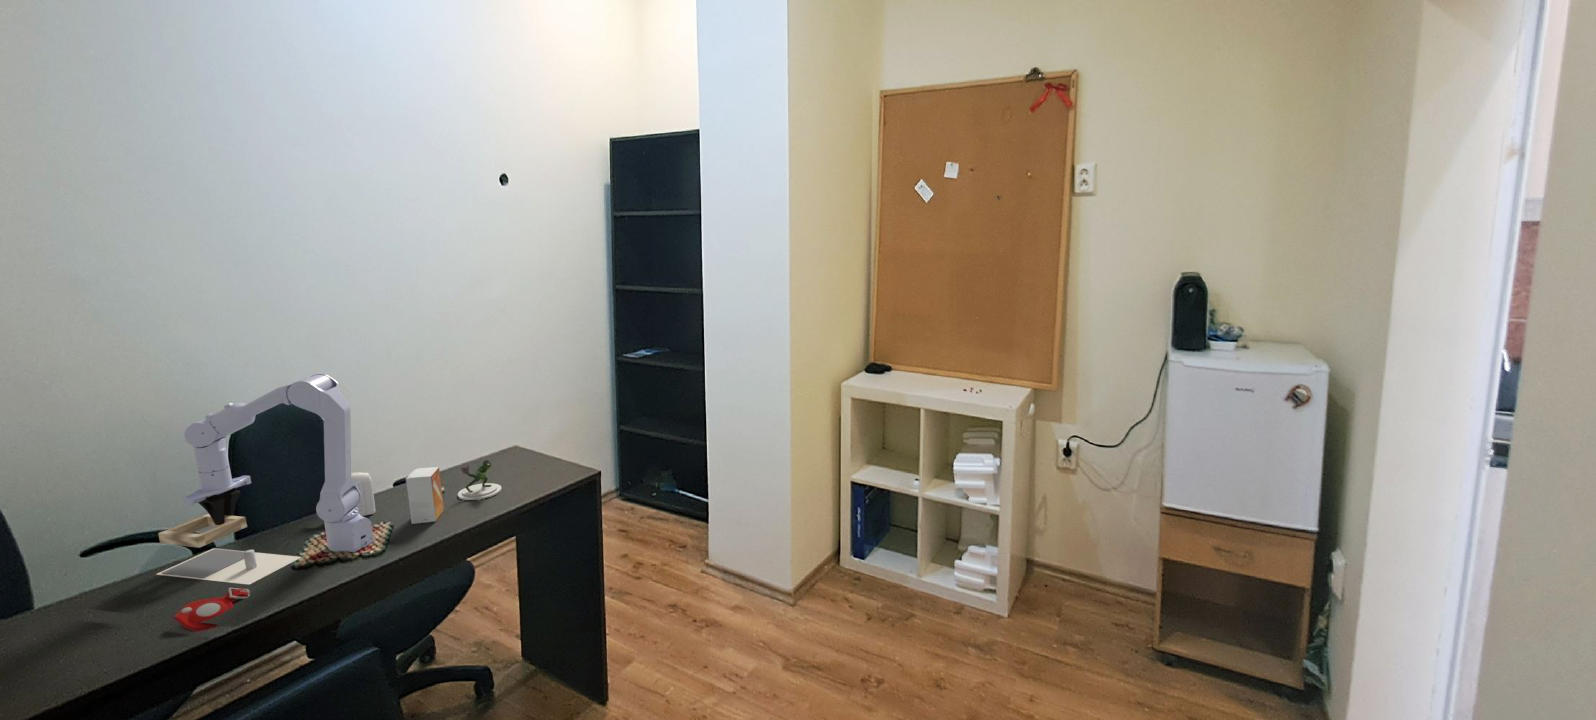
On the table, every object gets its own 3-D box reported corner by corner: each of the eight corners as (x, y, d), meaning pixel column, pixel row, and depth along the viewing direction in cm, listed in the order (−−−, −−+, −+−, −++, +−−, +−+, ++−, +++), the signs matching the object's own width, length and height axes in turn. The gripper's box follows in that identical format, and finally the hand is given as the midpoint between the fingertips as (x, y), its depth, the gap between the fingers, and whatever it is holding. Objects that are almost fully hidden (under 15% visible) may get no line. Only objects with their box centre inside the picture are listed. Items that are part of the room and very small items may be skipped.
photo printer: (375, 509, 196) (370, 467, 193) (376, 514, 192) (370, 472, 190) (332, 518, 190) (325, 475, 188) (332, 523, 186) (325, 480, 184)
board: (302, 562, 165) (299, 541, 163) (250, 590, 152) (246, 567, 151) (214, 553, 170) (210, 533, 169) (157, 580, 157) (152, 558, 156)
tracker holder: (219, 626, 137) (161, 620, 135) (220, 642, 139) (163, 637, 137) (256, 583, 148) (203, 577, 146) (256, 598, 150) (204, 593, 148)
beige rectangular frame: (247, 526, 165) (245, 516, 164) (199, 547, 154) (197, 537, 153) (209, 523, 167) (208, 513, 166) (160, 543, 156) (158, 533, 156)
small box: (436, 521, 187) (430, 476, 184) (411, 524, 185) (404, 478, 183) (444, 510, 194) (439, 466, 192) (420, 512, 193) (414, 468, 190)
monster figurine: (498, 498, 202) (495, 465, 200) (454, 503, 199) (450, 469, 197) (504, 483, 214) (500, 452, 212) (462, 488, 210) (458, 456, 208)
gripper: (230, 457, 170) (240, 509, 173) (167, 478, 156) (178, 534, 159) (254, 459, 169) (263, 511, 171) (192, 480, 155) (203, 537, 157)
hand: (224, 522), depth 165 cm, fingers closed on beige rectangular frame, 1 cm apart
